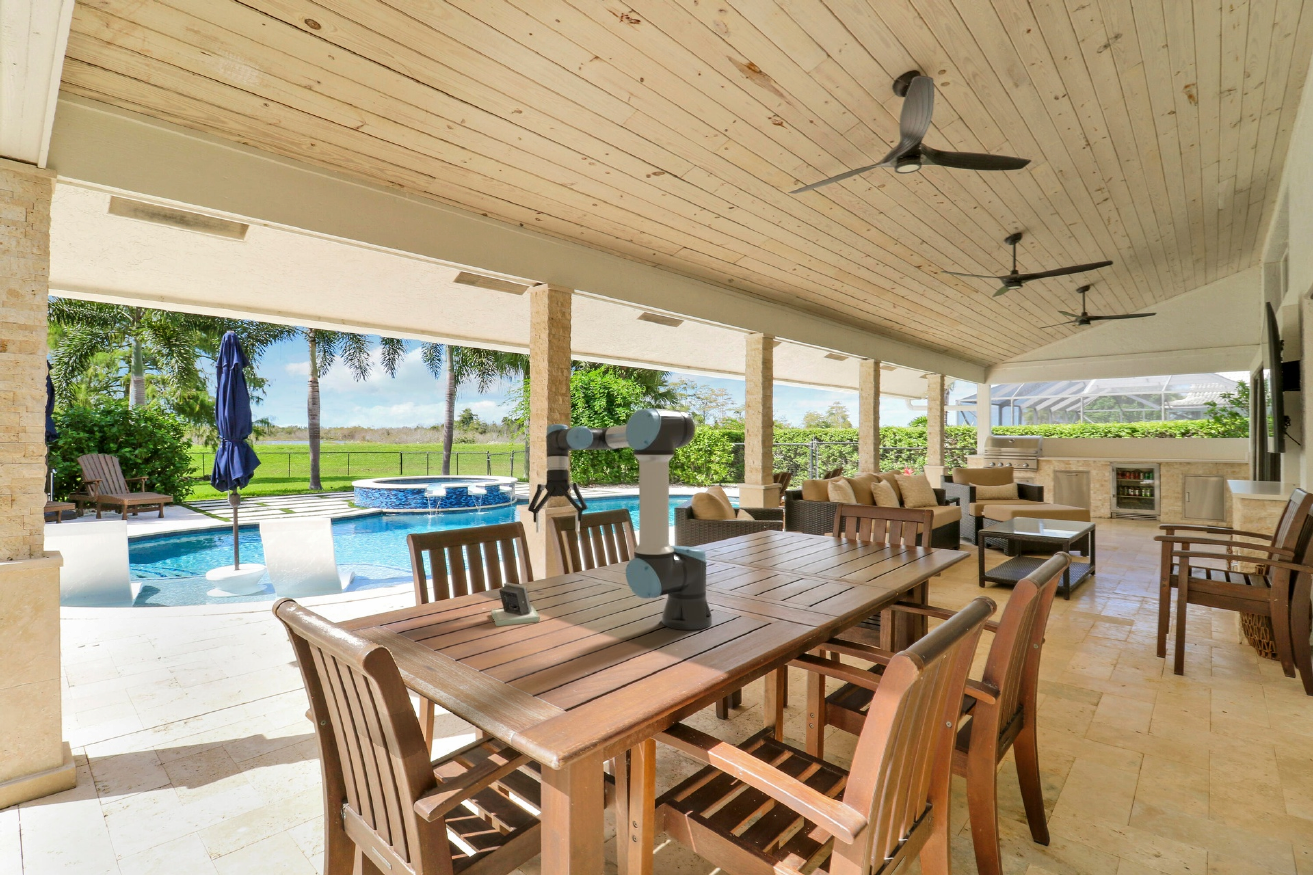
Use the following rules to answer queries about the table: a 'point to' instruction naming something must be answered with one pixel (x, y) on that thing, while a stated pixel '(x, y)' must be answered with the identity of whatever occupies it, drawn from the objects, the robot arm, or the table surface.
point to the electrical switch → (515, 599)
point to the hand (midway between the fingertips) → (557, 531)
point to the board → (513, 617)
